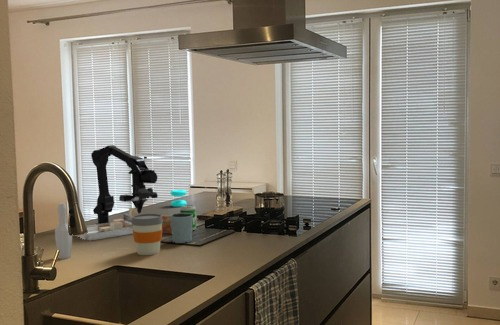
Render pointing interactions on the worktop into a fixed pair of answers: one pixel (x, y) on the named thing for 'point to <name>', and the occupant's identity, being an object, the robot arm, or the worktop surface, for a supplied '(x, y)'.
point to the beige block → (116, 225)
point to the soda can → (191, 210)
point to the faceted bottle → (63, 233)
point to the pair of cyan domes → (177, 194)
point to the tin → (166, 225)
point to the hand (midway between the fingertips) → (139, 213)
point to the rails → (108, 231)
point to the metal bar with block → (130, 214)
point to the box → (90, 230)
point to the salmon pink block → (120, 221)
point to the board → (111, 229)
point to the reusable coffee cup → (147, 233)
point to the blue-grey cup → (181, 227)
